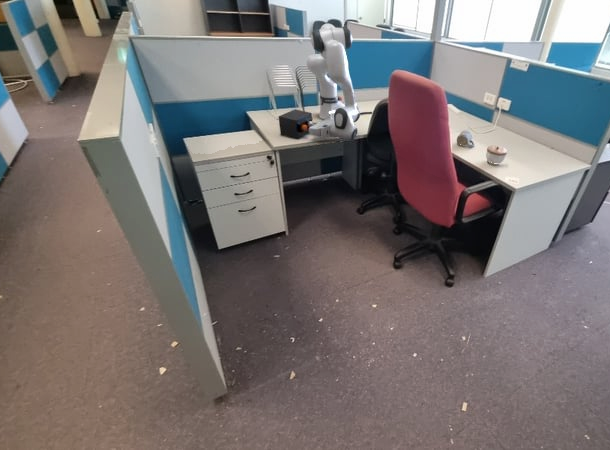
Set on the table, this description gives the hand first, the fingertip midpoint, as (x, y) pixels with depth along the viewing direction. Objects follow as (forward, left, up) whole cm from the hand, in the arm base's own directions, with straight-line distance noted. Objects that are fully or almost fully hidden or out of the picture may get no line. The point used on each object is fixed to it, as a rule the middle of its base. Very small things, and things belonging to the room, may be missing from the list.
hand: (311, 124), depth 197 cm
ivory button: (+1, -1, -2) cm, 2 cm away
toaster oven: (+7, -4, -6) cm, 10 cm away
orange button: (+5, +5, -2) cm, 7 cm away
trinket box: (-83, +70, -6) cm, 109 cm away
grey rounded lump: (-83, +44, -6) cm, 95 cm away
